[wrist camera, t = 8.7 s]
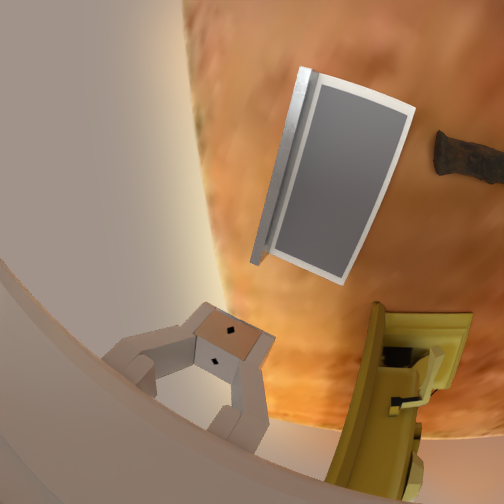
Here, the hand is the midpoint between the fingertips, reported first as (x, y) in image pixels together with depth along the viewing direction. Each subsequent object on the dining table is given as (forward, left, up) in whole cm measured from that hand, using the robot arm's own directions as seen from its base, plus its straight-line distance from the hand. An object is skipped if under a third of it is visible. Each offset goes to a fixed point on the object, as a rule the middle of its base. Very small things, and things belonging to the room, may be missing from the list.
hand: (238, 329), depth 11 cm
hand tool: (-11, -9, -27) cm, 31 cm away
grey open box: (0, 0, -24) cm, 24 cm away
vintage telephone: (-20, +19, -24) cm, 37 cm away
